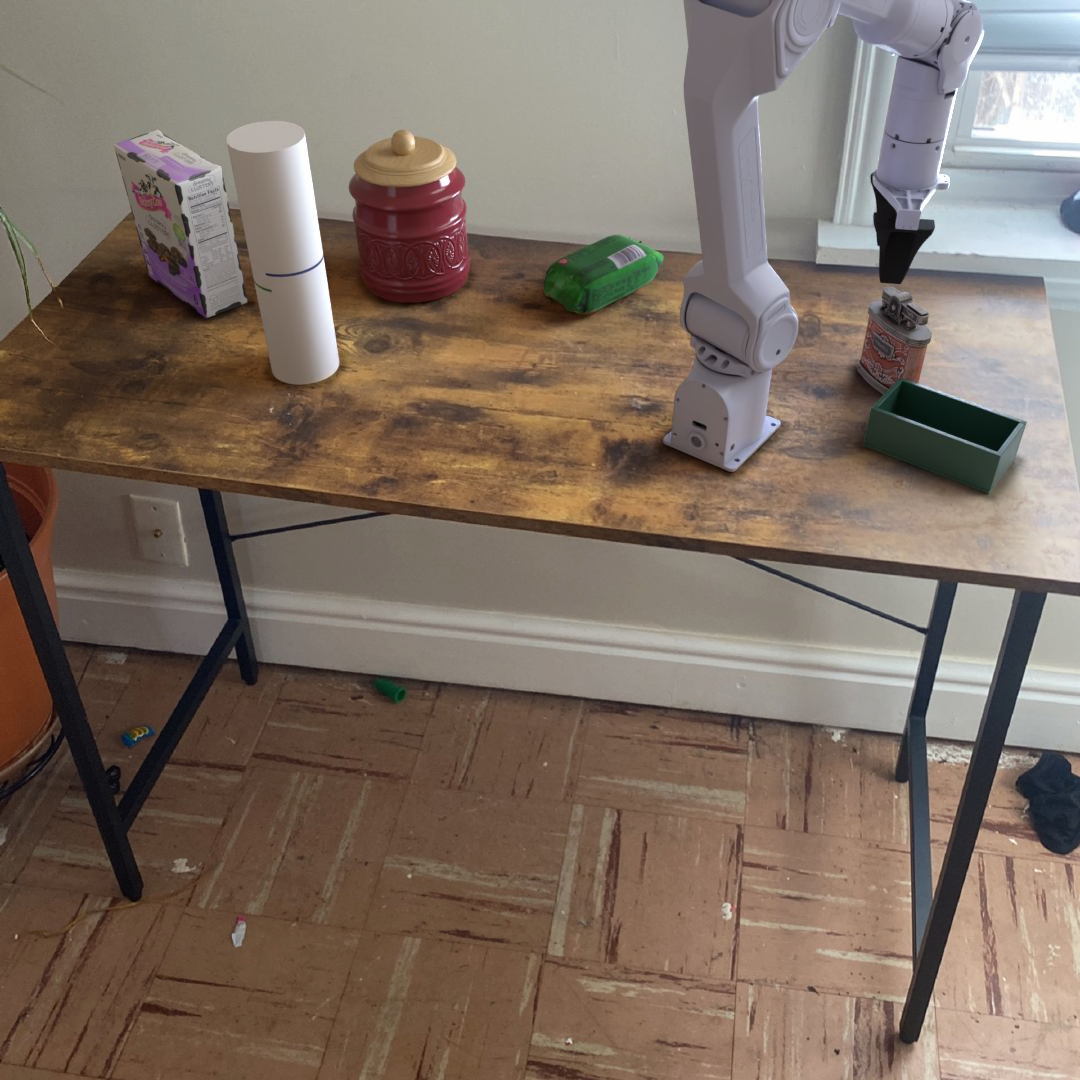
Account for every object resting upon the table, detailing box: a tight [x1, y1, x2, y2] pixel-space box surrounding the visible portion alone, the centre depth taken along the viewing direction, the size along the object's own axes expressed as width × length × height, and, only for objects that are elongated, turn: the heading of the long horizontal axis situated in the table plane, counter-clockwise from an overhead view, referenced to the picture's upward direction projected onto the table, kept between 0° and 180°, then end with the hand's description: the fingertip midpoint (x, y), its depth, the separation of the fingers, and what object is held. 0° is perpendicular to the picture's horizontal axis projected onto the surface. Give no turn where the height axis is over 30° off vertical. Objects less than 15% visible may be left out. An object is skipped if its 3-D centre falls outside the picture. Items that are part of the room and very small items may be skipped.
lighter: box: [856, 286, 933, 396], centre depth 118 cm, size 8×3×10 cm, turn 25°
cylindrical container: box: [226, 120, 340, 386], centre depth 117 cm, size 7×7×25 cm
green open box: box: [862, 377, 1028, 495], centre depth 111 cm, size 6×12×4 cm, turn 53°
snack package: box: [542, 234, 665, 316], centre depth 134 cm, size 7×16×5 cm, turn 131°
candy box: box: [113, 129, 248, 319], centre depth 132 cm, size 14×6×16 cm, turn 42°
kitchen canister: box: [348, 129, 471, 304], centre depth 133 cm, size 13×13×18 cm
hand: (888, 263), depth 119 cm, fingers open, 7 cm apart
